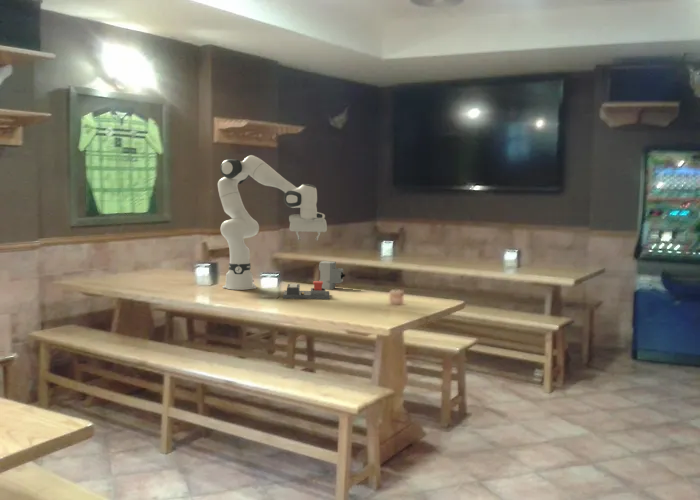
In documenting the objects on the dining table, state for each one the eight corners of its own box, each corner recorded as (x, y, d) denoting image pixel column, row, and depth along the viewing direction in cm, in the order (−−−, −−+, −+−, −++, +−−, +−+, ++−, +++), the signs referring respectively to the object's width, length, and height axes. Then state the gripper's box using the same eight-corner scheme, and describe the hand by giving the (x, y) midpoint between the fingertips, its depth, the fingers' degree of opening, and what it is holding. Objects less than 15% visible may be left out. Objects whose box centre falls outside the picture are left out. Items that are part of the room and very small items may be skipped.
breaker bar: (290, 289, 366) (290, 283, 366) (297, 289, 367) (297, 283, 366) (289, 292, 356) (289, 286, 355) (296, 292, 356) (296, 286, 355)
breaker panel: (284, 294, 368) (284, 283, 368) (329, 294, 369) (329, 284, 369) (283, 298, 354) (283, 287, 354) (329, 299, 355) (329, 288, 355)
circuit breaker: (342, 290, 387) (343, 263, 386) (318, 288, 390) (318, 262, 388) (345, 288, 394) (346, 262, 393) (321, 286, 397) (322, 261, 396)
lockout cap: (313, 292, 364) (313, 281, 364) (322, 292, 364) (322, 281, 364) (313, 293, 359) (313, 282, 359) (322, 293, 359) (322, 282, 359)
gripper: (288, 214, 364) (288, 240, 365) (327, 215, 365) (326, 241, 366) (289, 213, 370) (288, 239, 371) (327, 214, 371) (326, 240, 372)
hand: (308, 240), depth 369 cm, fingers open, 8 cm apart
